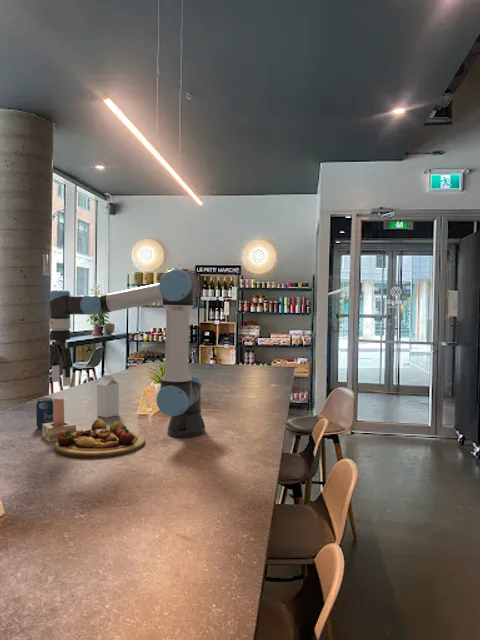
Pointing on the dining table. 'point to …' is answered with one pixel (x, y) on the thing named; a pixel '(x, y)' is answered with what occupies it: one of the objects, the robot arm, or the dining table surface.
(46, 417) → the soda can
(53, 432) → the socket block
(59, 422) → the pink upright block
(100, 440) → the wooden plate with food
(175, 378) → the robot arm
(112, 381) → the milk carton
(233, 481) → the dining table surface
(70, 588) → the dining table surface
